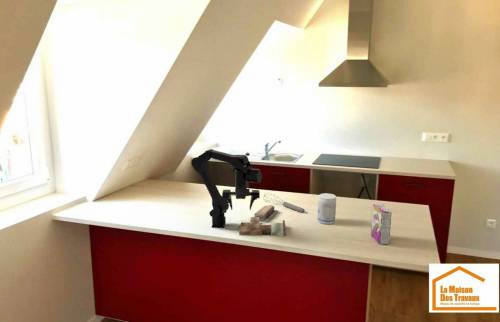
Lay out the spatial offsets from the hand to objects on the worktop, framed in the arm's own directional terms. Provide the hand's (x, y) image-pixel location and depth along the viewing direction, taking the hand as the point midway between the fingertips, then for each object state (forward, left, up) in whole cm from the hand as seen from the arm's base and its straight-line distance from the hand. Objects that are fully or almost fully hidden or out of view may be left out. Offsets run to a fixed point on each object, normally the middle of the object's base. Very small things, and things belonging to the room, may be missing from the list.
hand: (240, 209), depth 190 cm
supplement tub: (+46, +14, -11) cm, 49 cm away
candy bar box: (+68, -9, -11) cm, 69 cm away
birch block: (+7, 0, -9) cm, 11 cm away
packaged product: (+12, +21, -12) cm, 27 cm away
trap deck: (+11, 0, -11) cm, 15 cm away
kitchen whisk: (+24, +38, -11) cm, 46 cm away
